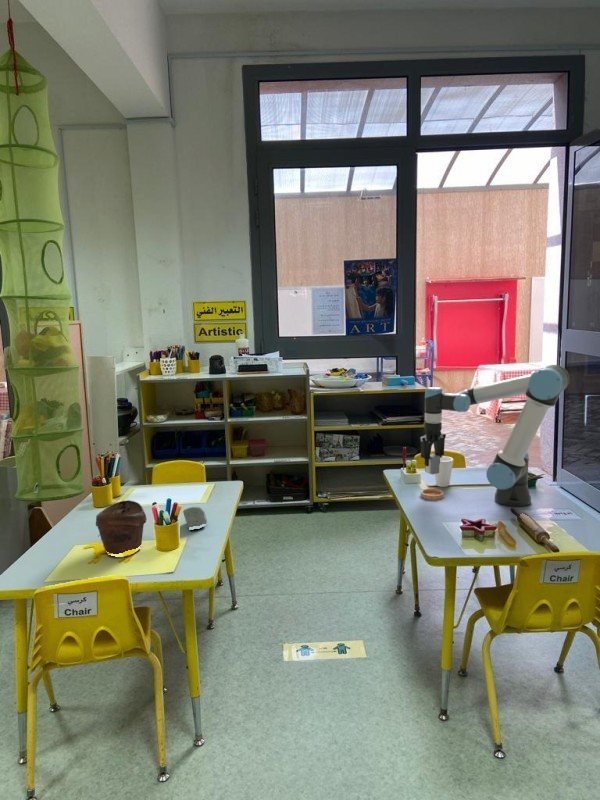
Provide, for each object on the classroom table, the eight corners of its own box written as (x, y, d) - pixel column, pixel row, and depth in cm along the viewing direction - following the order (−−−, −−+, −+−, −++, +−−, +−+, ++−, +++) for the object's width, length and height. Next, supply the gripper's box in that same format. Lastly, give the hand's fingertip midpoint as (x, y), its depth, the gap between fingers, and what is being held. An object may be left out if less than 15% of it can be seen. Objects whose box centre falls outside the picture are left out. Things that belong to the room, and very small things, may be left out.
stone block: (439, 473, 252) (439, 456, 251) (432, 474, 251) (432, 457, 249) (431, 470, 257) (432, 453, 255) (424, 471, 255) (425, 454, 253)
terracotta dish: (448, 497, 253) (448, 493, 253) (430, 501, 249) (430, 497, 248) (433, 491, 262) (433, 487, 262) (416, 495, 258) (416, 490, 257)
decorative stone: (203, 534, 221) (211, 510, 225) (176, 525, 221) (186, 501, 224) (203, 537, 233) (211, 514, 237) (178, 529, 233) (187, 506, 236)
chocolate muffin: (136, 534, 222) (131, 492, 219) (157, 551, 207) (153, 506, 203) (91, 548, 211) (85, 504, 208) (110, 567, 196) (104, 519, 192)
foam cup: (429, 482, 274) (429, 457, 272) (445, 480, 277) (446, 455, 274) (439, 488, 265) (439, 462, 263) (456, 486, 268) (457, 460, 266)
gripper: (442, 417, 256) (441, 466, 261) (412, 422, 249) (411, 472, 253) (453, 420, 250) (452, 470, 254) (423, 425, 242) (422, 477, 246)
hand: (432, 471), depth 254 cm, fingers closed on stone block, 4 cm apart
